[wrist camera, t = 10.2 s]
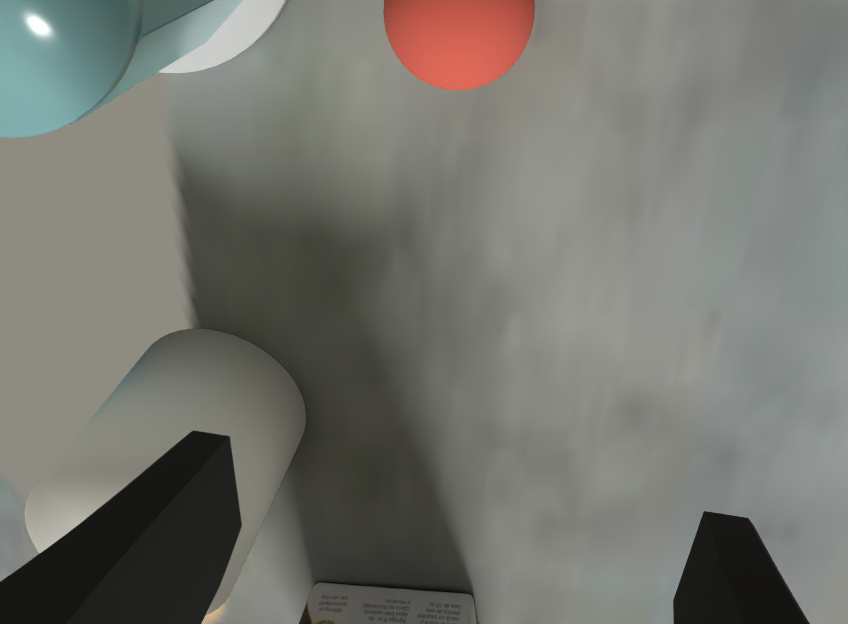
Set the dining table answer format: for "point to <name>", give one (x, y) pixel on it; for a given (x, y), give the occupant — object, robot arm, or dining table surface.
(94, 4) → the teal octagonal canister
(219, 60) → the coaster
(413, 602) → the coffee box
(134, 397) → the white rounded cylinder
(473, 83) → the red ball
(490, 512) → the dining table surface
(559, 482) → the dining table surface
